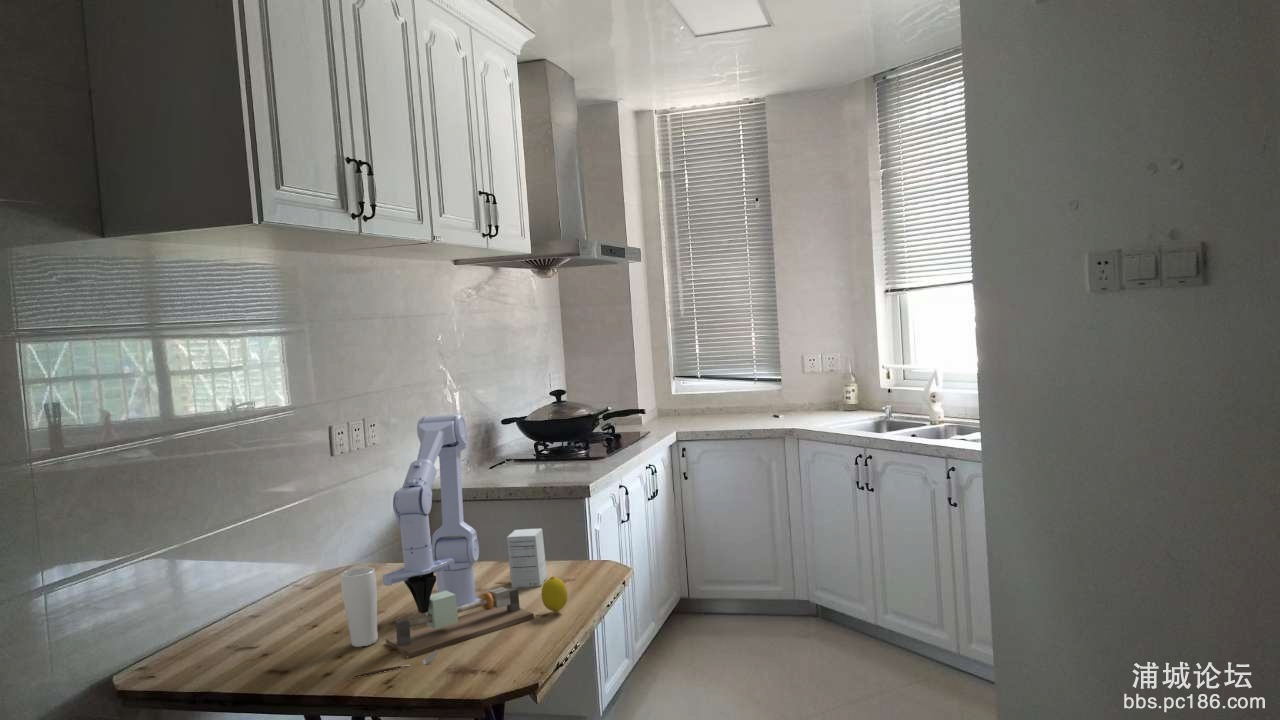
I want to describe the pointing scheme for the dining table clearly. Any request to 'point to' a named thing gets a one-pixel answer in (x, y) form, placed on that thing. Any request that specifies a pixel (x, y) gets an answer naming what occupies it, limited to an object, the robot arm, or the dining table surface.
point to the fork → (401, 666)
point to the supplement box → (526, 558)
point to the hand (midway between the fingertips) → (423, 611)
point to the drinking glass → (360, 605)
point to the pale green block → (442, 609)
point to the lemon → (554, 594)
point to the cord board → (461, 623)
